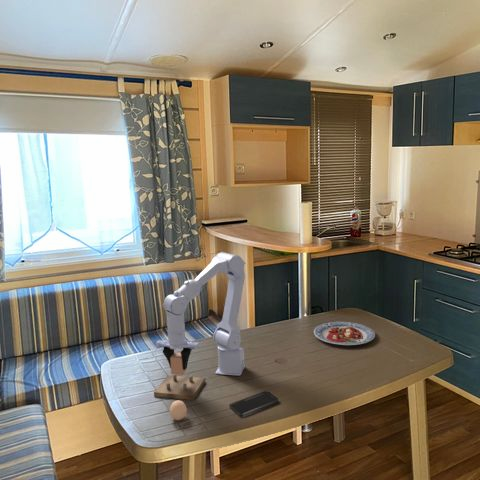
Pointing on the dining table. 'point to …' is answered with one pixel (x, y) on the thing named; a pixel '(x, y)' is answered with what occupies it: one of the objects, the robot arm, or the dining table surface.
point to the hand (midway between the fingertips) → (178, 367)
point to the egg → (178, 410)
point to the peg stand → (179, 387)
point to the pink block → (177, 364)
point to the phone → (254, 403)
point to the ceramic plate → (344, 333)
